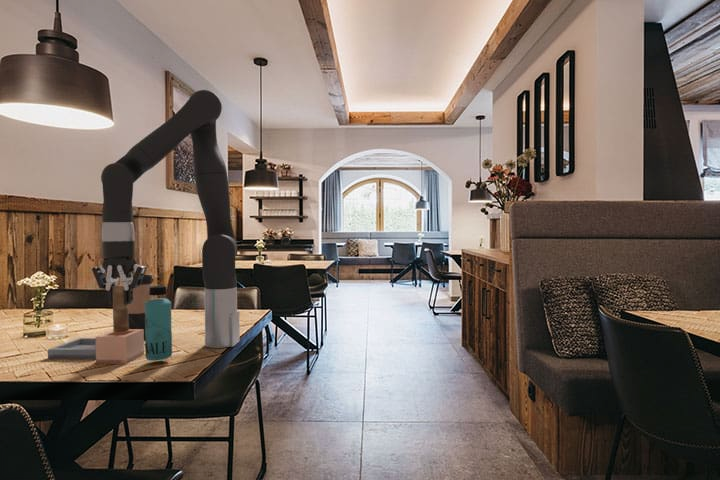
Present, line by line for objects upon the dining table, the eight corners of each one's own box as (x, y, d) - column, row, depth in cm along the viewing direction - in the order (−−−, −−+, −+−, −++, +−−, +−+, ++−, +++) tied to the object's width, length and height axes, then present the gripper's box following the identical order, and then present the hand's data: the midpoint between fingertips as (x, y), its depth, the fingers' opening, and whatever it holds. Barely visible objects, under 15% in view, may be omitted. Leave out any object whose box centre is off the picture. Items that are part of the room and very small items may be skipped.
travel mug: (141, 342, 124) (140, 277, 124) (120, 340, 125) (119, 277, 125) (158, 335, 131) (157, 275, 131) (138, 334, 133) (137, 274, 133)
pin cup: (144, 354, 111) (143, 329, 111) (126, 363, 103) (126, 336, 103) (115, 354, 111) (115, 329, 111) (96, 363, 103) (95, 336, 103)
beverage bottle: (165, 357, 109) (164, 283, 108) (177, 362, 104) (176, 285, 104) (140, 363, 104) (139, 286, 103) (151, 368, 99) (150, 288, 99)
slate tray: (126, 346, 119) (126, 337, 119) (98, 358, 107) (98, 349, 107) (80, 346, 120) (80, 337, 120) (47, 358, 108) (47, 349, 108)
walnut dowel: (131, 328, 109) (130, 284, 109) (123, 332, 105) (122, 286, 105) (118, 328, 109) (117, 285, 109) (110, 332, 105) (109, 286, 105)
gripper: (152, 239, 110) (153, 301, 111) (101, 239, 111) (103, 301, 111) (136, 239, 103) (138, 306, 103) (82, 240, 103) (84, 307, 103)
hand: (120, 303), depth 107 cm, fingers closed on walnut dowel, 3 cm apart
